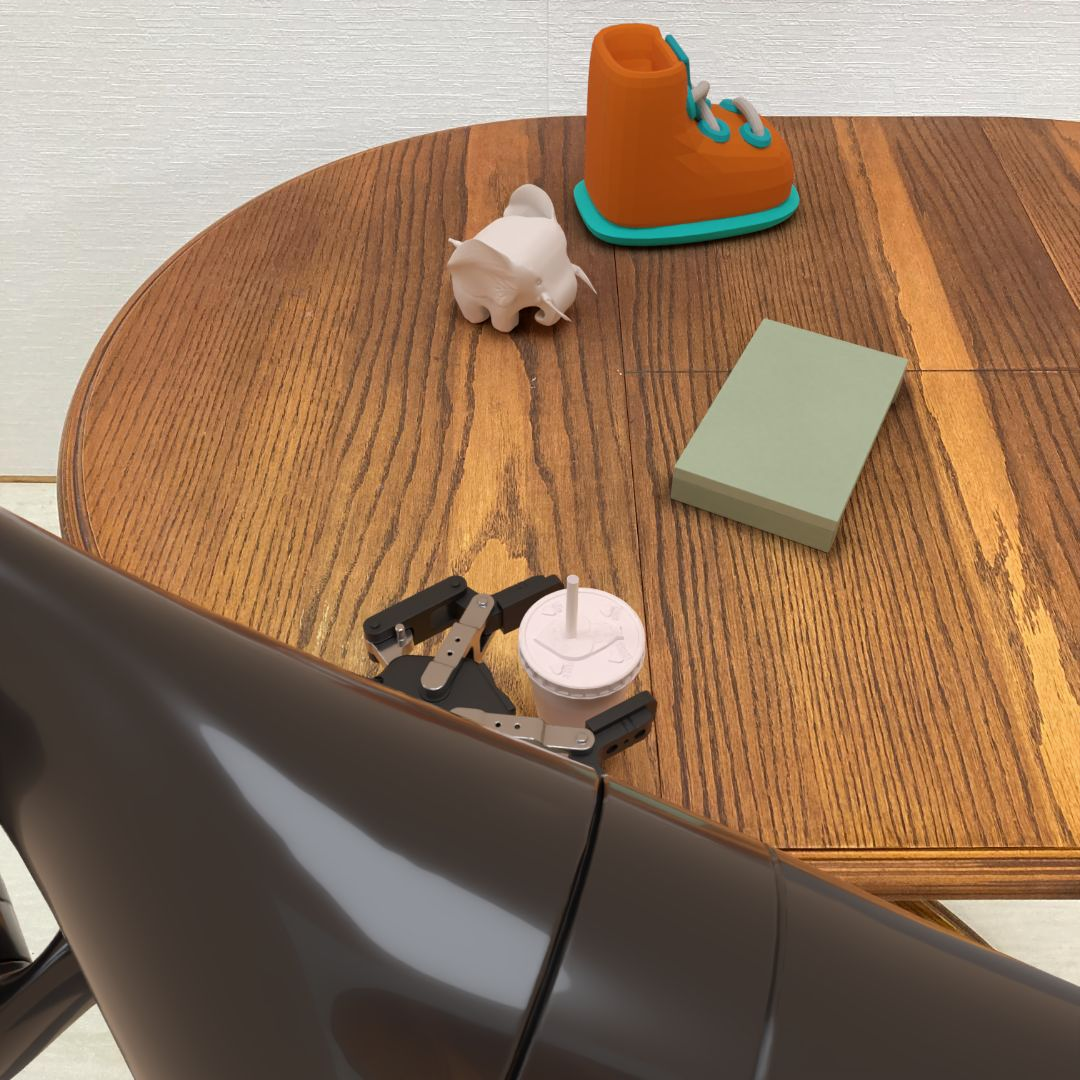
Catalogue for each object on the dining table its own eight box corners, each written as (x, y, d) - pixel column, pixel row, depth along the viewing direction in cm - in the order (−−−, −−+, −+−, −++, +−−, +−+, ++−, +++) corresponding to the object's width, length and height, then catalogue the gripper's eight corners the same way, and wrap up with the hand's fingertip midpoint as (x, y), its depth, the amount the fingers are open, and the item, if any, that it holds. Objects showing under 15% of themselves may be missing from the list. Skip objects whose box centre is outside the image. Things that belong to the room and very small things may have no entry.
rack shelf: (828, 553, 71) (838, 521, 69) (669, 498, 75) (673, 466, 72) (899, 391, 82) (909, 359, 80) (757, 349, 85) (763, 317, 83)
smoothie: (514, 698, 64) (510, 533, 53) (624, 688, 64) (641, 522, 54) (525, 797, 59) (523, 639, 49) (643, 785, 60) (665, 626, 50)
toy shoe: (815, 232, 96) (851, 61, 85) (597, 261, 93) (605, 88, 82) (764, 163, 104) (792, -2, 93) (562, 188, 101) (565, 20, 90)
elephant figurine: (556, 369, 84) (558, 268, 77) (421, 323, 87) (412, 224, 81) (610, 302, 89) (616, 203, 83) (481, 262, 93) (477, 164, 87)
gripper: (365, 880, 44) (695, 703, 50) (236, 634, 52) (532, 506, 58) (384, 955, 49) (679, 788, 55) (265, 722, 58) (533, 597, 63)
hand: (604, 644), depth 56 cm, fingers open, 8 cm apart
